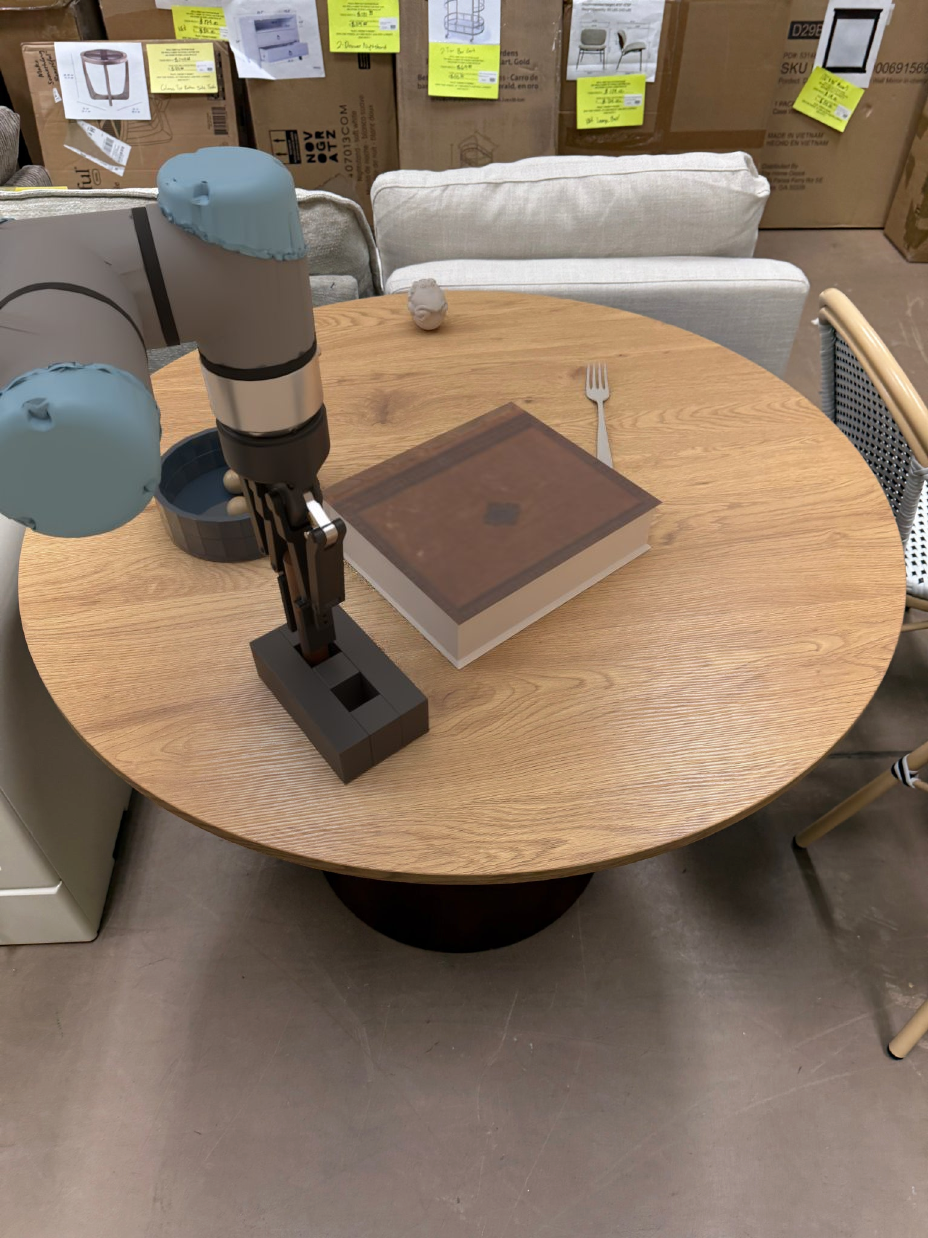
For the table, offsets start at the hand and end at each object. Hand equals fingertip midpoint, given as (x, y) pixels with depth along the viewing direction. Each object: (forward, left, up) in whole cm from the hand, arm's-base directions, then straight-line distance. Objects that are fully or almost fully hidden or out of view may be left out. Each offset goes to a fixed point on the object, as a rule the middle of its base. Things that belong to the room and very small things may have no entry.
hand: (312, 633), depth 73 cm
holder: (0, -3, -7) cm, 8 cm away
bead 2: (+5, +25, -5) cm, 26 cm away
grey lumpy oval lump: (+49, +48, -7) cm, 69 cm away
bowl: (+6, +27, -7) cm, 29 cm away
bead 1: (+7, +30, -5) cm, 31 cm away
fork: (+52, +14, -7) cm, 55 cm away
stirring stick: (0, 0, -7) cm, 6 cm away
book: (+25, +5, -7) cm, 27 cm away
